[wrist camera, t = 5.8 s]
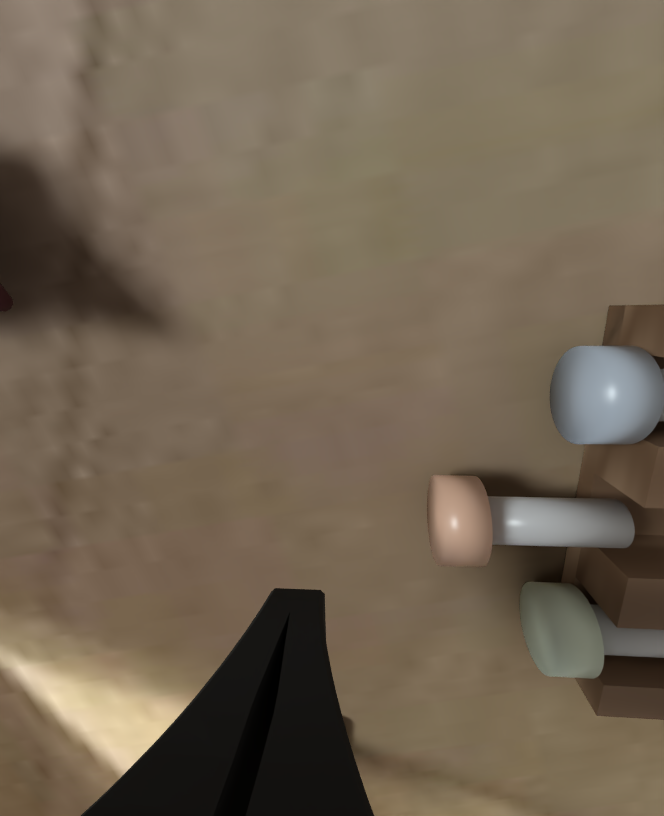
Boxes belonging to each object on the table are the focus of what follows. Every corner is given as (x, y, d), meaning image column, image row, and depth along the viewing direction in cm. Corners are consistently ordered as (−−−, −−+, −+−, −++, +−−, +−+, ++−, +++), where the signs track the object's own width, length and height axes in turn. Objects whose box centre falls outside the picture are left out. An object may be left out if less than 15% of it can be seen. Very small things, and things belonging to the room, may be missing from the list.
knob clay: (425, 531, 16) (442, 586, 13) (429, 461, 16) (447, 502, 12) (583, 535, 16) (641, 593, 13) (596, 463, 15) (662, 506, 12)
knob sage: (515, 625, 17) (552, 698, 14) (524, 564, 17) (565, 627, 13) (667, 632, 17) (741, 709, 14) (684, 569, 16) (767, 637, 13)
